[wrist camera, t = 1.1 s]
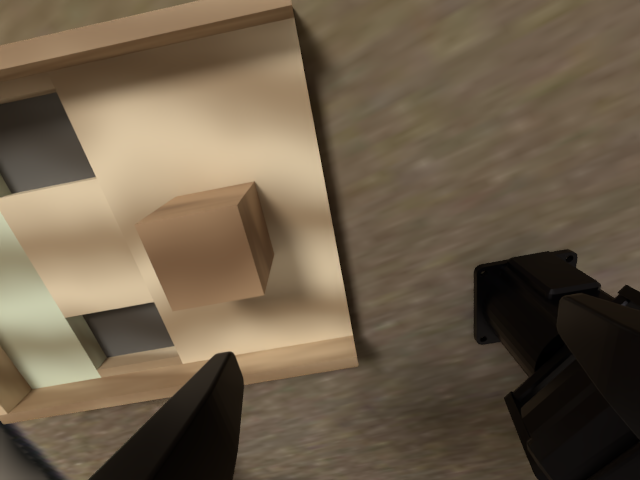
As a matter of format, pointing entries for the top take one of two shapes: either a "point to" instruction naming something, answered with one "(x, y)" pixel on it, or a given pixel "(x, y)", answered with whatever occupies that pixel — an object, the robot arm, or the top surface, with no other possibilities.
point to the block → (209, 246)
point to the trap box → (156, 205)
